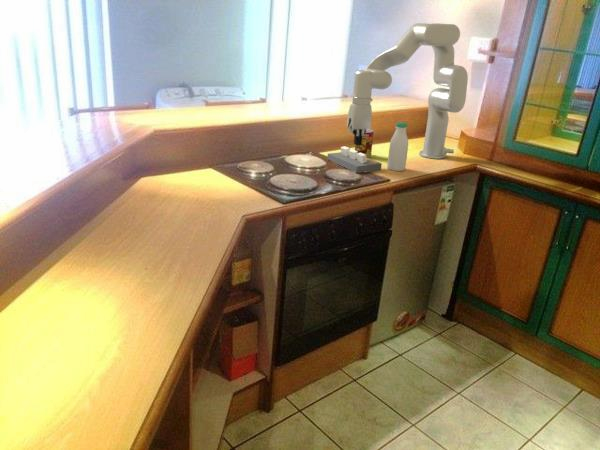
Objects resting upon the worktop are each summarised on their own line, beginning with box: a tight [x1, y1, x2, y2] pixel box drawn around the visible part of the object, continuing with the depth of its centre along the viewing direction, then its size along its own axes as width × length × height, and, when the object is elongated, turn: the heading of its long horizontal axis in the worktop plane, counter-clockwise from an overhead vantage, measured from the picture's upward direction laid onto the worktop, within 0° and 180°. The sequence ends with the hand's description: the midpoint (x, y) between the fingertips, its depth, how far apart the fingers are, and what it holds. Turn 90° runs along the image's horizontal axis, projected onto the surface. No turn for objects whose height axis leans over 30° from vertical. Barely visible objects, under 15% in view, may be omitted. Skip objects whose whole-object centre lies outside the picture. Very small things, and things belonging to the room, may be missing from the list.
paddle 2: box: [357, 152, 367, 163], centre depth 207 cm, size 2×4×3 cm, turn 30°
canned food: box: [354, 128, 374, 159], centre depth 227 cm, size 8×8×12 cm
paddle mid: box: [349, 148, 358, 160], centre depth 211 cm, size 2×4×3 cm, turn 30°
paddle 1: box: [340, 145, 351, 156], centre depth 216 cm, size 2×4×3 cm, turn 30°
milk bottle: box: [386, 121, 409, 172], centre depth 207 cm, size 8×8×20 cm
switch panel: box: [327, 151, 383, 173], centre depth 213 cm, size 13×22×3 cm, turn 30°
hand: (357, 144), depth 211 cm, fingers closed
